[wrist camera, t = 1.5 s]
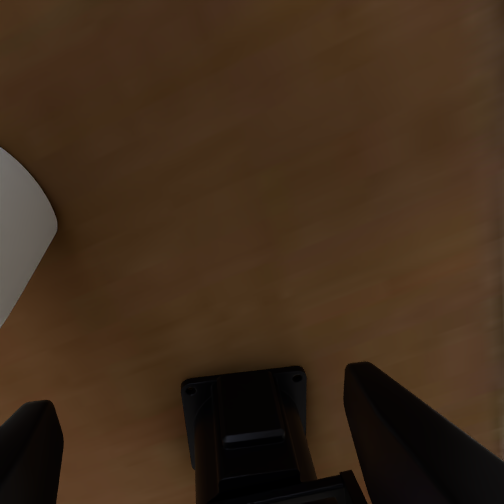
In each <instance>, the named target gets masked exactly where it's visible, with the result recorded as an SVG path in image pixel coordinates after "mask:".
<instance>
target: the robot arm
mask: <svg viewBox="0 0 504 504" xmlns="http://www.w3.org/2000/svg"><path fill="white" fill-rule="evenodd" d="M295 375H299V376H297V377H294V376H295ZM306 378H307V377H306V374H305V371H304V369H303V368H302V367H300V366H291V367H283V368H274V369H266V370H257V371H249V372H240V373H232V374H223V375H215V376H206V377H198V378H190V379H186V380H185V381H183V383H182V384H181V395H182V402H183V409H184V416H185V423H186V430H187V436H188V443H189V450H190V457H191V464H192V468H193V469H194V470H195V484H196V504H368V503H367V501H366V499H365V497H364V495H363V493H362V491H361V489H360V486H359V484H358V482H357V480H356V478H355V476H354V474H353V472H352V470H348V471H344V472H340V475H336V476H331V477H326V478H322V479H317V476H316V472H315V469H314V465H313V462H312V458H311V455H310V451H309V448H308V444H307V440H306ZM190 387H191V388H194V389H192V390H189V389H188V388H190ZM343 400H344V408H345V412H346V416H347V420H348V423H349V427H350V430H351V434H352V438H353V441H354V445H355V448H356V452H357V456H358V459H359V463H360V466H361V470H362V474H363V477H364V481H365V484H366V487H367V491H368V494H369V496H370V499H371V502H372V504H504V461H502V460H501V459H500V458H498V457H497V456H496V455H494V454H493V453H492V452H490V451H489V450H487V449H486V448H485V447H483V446H482V445H481V444H479V443H478V442H477V441H475V440H474V439H473V438H471V437H470V436H469V435H467V434H466V433H465V432H463V431H462V430H461V429H459V428H458V427H457V426H455V425H454V424H453V423H451V422H450V421H448V420H447V419H446V418H444V417H443V416H442V415H440V414H439V413H438V412H436V411H435V410H434V409H432V408H431V407H430V406H428V405H427V404H426V403H424V402H423V401H422V400H420V399H419V398H418V397H416V396H415V395H414V394H412V393H411V392H409V391H408V390H407V389H405V388H404V387H403V386H401V385H400V384H399V383H397V382H396V381H395V380H393V379H392V378H391V377H389V376H388V375H387V374H385V373H384V372H383V371H381V370H380V369H379V368H377V367H376V366H374V365H373V364H372V363H370V362H357V363H350V364H348V365H347V366H346V368H345V379H344V396H343ZM63 446H64V440H63V433H62V430H61V426H60V423H59V420H58V417H57V414H56V411H55V407H54V405H53V403H52V402H51V401H49V400H41V401H33V402H27V403H25V404H23V405H22V406H21V407H20V408H19V409H18V410H17V411H16V412H15V413H14V414H13V415H12V416H11V417H10V418H9V419H8V420H7V421H6V422H5V423H4V424H3V425H2V426H0V504H56V500H57V492H58V485H59V477H60V470H61V462H62V454H63Z"/></svg>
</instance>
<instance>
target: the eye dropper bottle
mask: <svg viewBox="0 0 504 504" xmlns="http://www.w3.org/2000/svg"><path fill="white" fill-rule="evenodd" d="M56 232H57V219H56V216H55V213H54V211H53V208H52V206H51V204H50V202H49V200H48V199H47V197H46V195H45V194H44V192H43V190H42V189H41V187H40V186H39V185H38V183H37V182H36V181H35V179H34V178H33V177H32V176H31V174H30V173H29V172H28V171H27V170H26V169H25V168H24V167H23V166H22V165H21V164H20V163H19V162H18V161H17V160H16V159H15V158H14V157H12V156H11V155H10V154H9V153H8V152H6V151H5V150H4V149H2V148H1V147H0V328H1V326H2V325H3V323H4V322H5V320H6V319H7V317H8V315H9V314H10V312H11V311H12V309H13V307H14V306H15V304H16V303H17V301H18V299H19V297H20V296H21V294H22V292H23V290H24V289H25V287H26V285H27V283H28V282H29V280H30V278H31V276H32V275H33V273H34V271H35V270H36V268H37V266H38V264H39V262H40V261H41V259H42V257H43V255H44V254H45V252H46V250H47V248H48V246H49V245H50V243H51V241H52V239H53V238H54V236H55V234H56Z"/></svg>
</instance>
